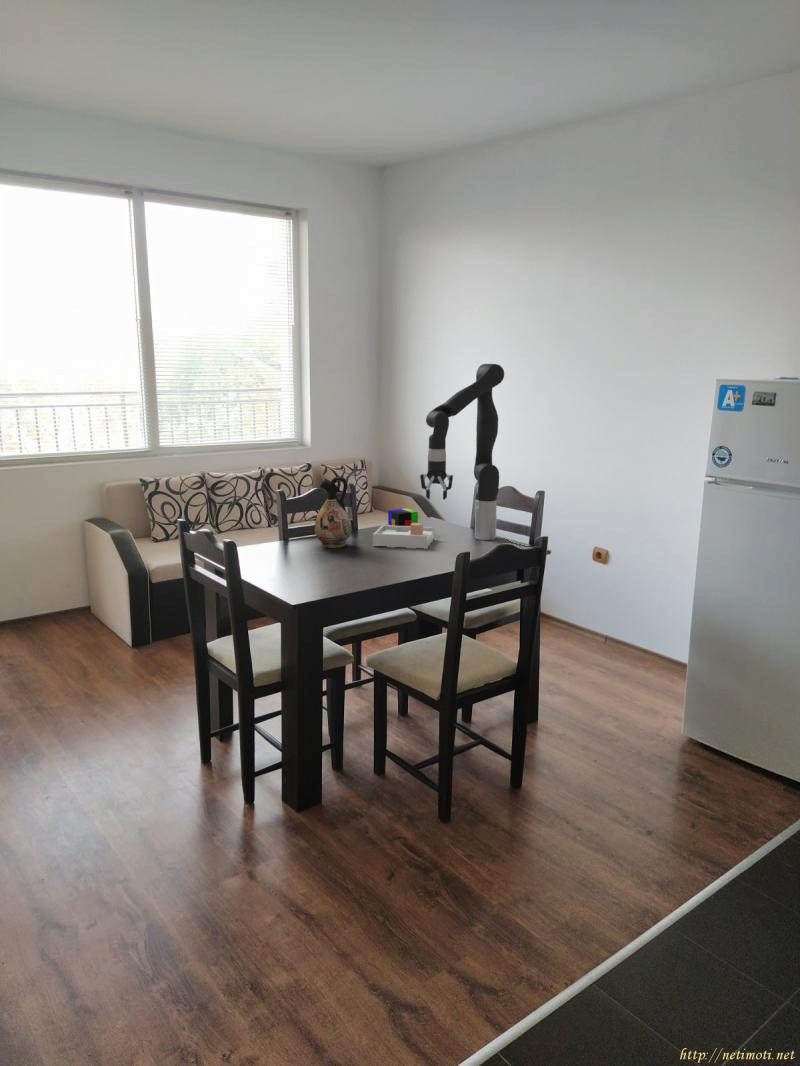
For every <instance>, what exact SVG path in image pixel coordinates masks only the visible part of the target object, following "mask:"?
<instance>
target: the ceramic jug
mask: <svg viewBox="0 0 800 1066" xmlns="http://www.w3.org/2000/svg"><path fill="white" fill-rule="evenodd" d="M337 482H340V483H342V484H343V487H342V491H341V494H340V497H339V498H338V496H337V493H338V492H340V487H338V485H337V484H336V483H337ZM316 488H317V489H320V490H323V491H325V492H326V493H327V498H326V501H324V503H323V505H322V506H321V508H320V509H319V512H318V513H317V516H316V519H315V523H314V533H315V535H316V537H317V539H318V540H319V541H320V543H321V546H322V547H323V548H325V547H328V548H327V549H337V547H338V548H342V547H345V546H346V542H347V541H348V539H349V537H350V536H351V535H352V521H351V518H350V516H349V514H348V512H347V509H346V505H345V501H344V499H345V498H346V493H347V489H348V482H347V478H345V477H343V476H342V475H339V476H334V477H333V478H332V480H331V481H328V480H327V479H323V480H322V482H321V483H320V484H318V486H317V487H316Z"/></svg>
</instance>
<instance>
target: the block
mask: <svg viewBox="0 0 800 1066" xmlns="http://www.w3.org/2000/svg"><path fill="white" fill-rule="evenodd" d="M423 527H424V526H423V523H422V522H421V523H420V522H418V523H412V524H411V525H410V535H422V534H423Z"/></svg>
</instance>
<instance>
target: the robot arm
mask: <svg viewBox="0 0 800 1066" xmlns="http://www.w3.org/2000/svg"><path fill="white" fill-rule="evenodd" d="M475 373H476V374H475V382H473V383H471V384H470V385H468V386H466V387H464V388H462V389H461V390H458V391H457V392H456V393H455V394H453V395H452V396H451V397H449V398H448V399H447V400H446V401H445V402H444V403H442V404H440V405H438V406H436V407H435V408H433V409H432V410H431V411H429V413H427V415H426V418H425V422H426V423H425V424H426V425H427V426H428V427H430V428H433V432H432V434H430V435H429V436H428V451H427V473H421V474H420V476H419V477H420V483H421V489H422V490H423V489H424V490H425V491H426V492H425V497H426V498H427V500H430V499H431V489H430V488H431V486H432V485H434V484H435V485H436V484H438V485H440V486H441V487H442V489H443V491H442V499H443V500H446V499H447V498H448V491H449V490H451V489H452V487H453V481H454V480H453V479H454V475H453V474H448V473H447V468H446V467H447V451H446V445H447V444H446V443H447V442H446V439H447V435H448V430H449V426H450V419H449V418H450V417H455V416H457V415H458V414H459V413H460V412H462V411H463V410H464V409H465V408H466V407H468V406H469V405H470V404H471V403H472V402H474V400H476V399H477V401H476V402H477V403H476V405H477V406H476V428H475V429H476V430H475V431H476V438H475V439H476V440H475V441H476V443H475V444H476V445H475V446H476V451H475V460H474V469H473V476H474V478H475V480H476V481H477V482H478V488H477V489H478V490H477V491H476V493H475V501H474V502H475V505H474V507H475V509H474V538H475V539H477V540H481V541H494V540H496V539H497V500H498V499H497V498H498V494H499V490H500V489H499V488H500V471H499V468H498V467H497V466H496V465H494V464H493V449H494V446H495V443H496V440H497V437H498V431H499V415H498V411H497V409H496V405H495V403H494V400H493V388H495V387H496V386H498V385H500V384H501V383H502V382H503V381H504V378H505V370H504V368H503V366H501V365H500V364H496V363H482V364H480V366H479V367H478V368H477V370H476V372H475ZM426 478H427V479H428V480H429V481H428V484H427V485H426V481H425V480H426ZM446 478H447V481H448V485H446V482H445V480H446Z"/></svg>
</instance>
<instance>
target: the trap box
mask: <svg viewBox="0 0 800 1066" xmlns="http://www.w3.org/2000/svg"><path fill="white" fill-rule="evenodd" d="M434 529H435V527H434V526H423V534H422V535H410V526H391V525H388V524H387V525H386V524H385V525H384V524H382V525H381V526H380V527H379V528H378V529H377V530H376V531H375V532H373V533H372V546H387V547H386V548H395V547H406V548H405V549H416V548H424V549H423V550H428V548H429V547H430V546H431V543H432V542H433V541H434V540H435V538H434V535H435V534H434V533H435V532H434ZM433 539H434V540H433ZM428 546H429V547H428Z"/></svg>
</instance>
